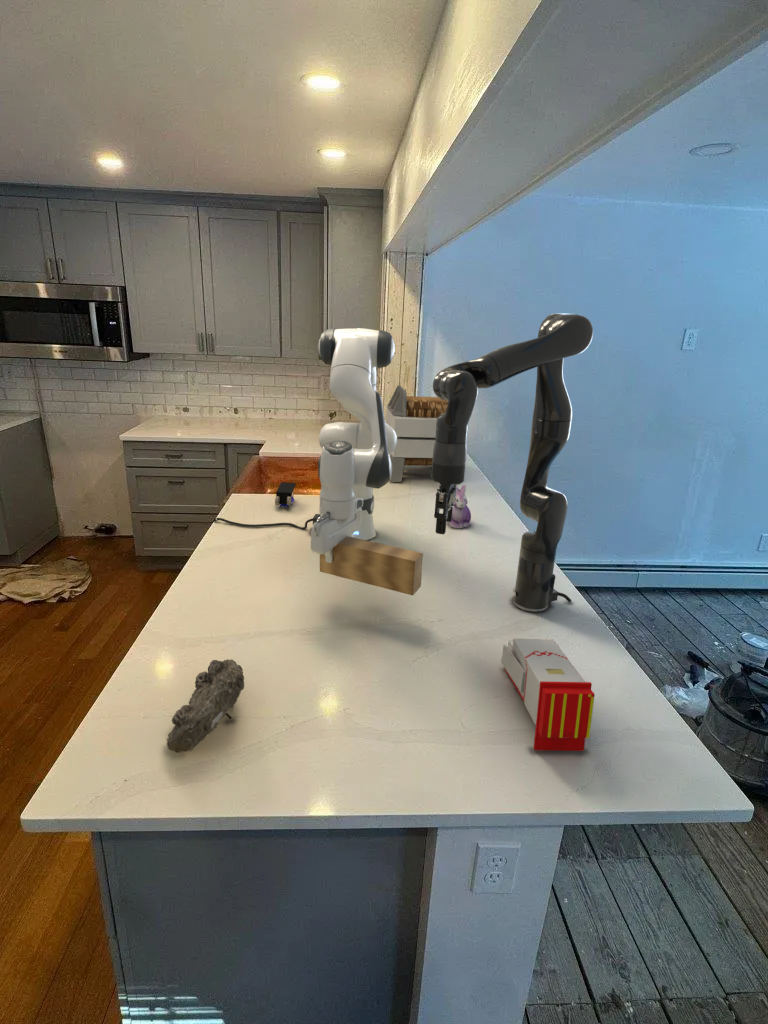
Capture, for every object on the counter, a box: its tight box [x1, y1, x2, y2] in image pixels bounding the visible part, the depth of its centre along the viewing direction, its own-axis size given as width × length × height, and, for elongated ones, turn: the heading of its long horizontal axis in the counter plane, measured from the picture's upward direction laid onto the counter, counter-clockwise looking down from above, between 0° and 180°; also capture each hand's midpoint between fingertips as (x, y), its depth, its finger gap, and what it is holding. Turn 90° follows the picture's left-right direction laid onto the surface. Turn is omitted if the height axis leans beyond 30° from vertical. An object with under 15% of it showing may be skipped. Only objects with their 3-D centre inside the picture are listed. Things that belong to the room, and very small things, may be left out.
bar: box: [319, 536, 424, 596], centre depth 143 cm, size 26×5×9 cm, turn 65°
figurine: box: [448, 484, 472, 529], centre depth 208 cm, size 9×10×15 cm
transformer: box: [385, 384, 448, 483], centre depth 268 cm, size 34×33×41 cm
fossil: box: [166, 658, 245, 754], centre depth 106 cm, size 22×10×15 cm
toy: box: [500, 637, 595, 752], centre depth 114 cm, size 12×13×30 cm
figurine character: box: [274, 481, 297, 510], centre depth 222 cm, size 7×8×15 cm
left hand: (336, 556), depth 147 cm, fingers closed on bar, 5 cm apart
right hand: (443, 527), depth 133 cm, fingers open, 8 cm apart
